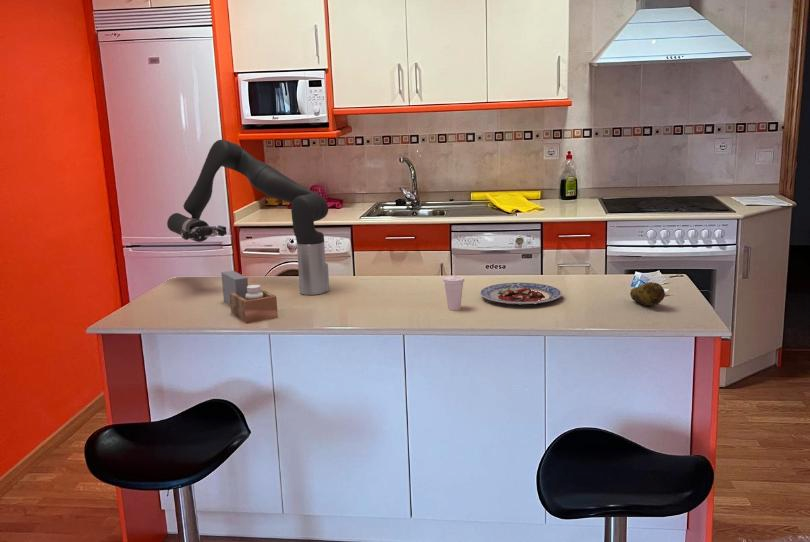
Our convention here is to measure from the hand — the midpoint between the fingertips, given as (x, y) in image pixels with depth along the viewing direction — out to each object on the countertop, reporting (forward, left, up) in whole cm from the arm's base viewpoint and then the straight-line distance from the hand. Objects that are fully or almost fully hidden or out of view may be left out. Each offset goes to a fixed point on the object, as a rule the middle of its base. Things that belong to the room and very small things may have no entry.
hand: (210, 234), depth 246 cm
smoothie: (-54, +61, -22) cm, 85 cm away
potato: (-101, +95, -22) cm, 141 cm away
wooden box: (-2, +29, -22) cm, 36 cm away
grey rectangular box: (-2, +13, -22) cm, 25 cm away
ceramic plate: (-78, +64, -22) cm, 104 cm away
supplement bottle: (-2, +31, -22) cm, 38 cm away
